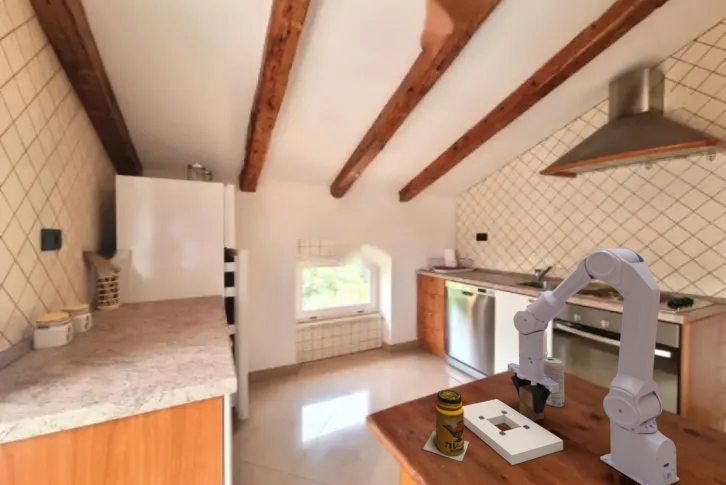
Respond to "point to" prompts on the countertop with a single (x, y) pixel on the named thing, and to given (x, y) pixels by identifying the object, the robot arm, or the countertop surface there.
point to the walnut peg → (528, 404)
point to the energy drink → (555, 380)
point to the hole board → (510, 432)
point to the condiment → (448, 427)
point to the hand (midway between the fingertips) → (531, 408)
